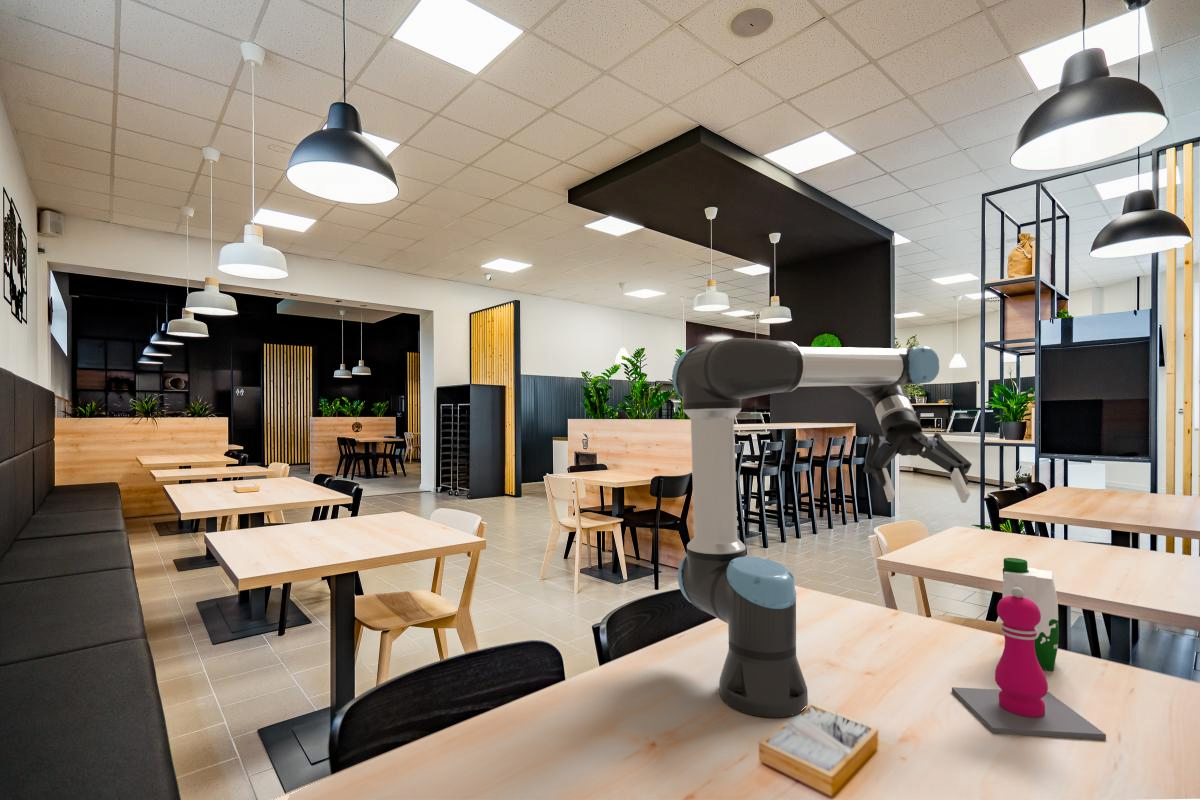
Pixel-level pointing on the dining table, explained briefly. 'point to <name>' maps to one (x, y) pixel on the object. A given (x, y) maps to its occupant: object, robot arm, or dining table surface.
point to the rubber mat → (1053, 723)
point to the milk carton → (1044, 596)
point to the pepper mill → (1020, 657)
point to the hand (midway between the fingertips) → (928, 498)
